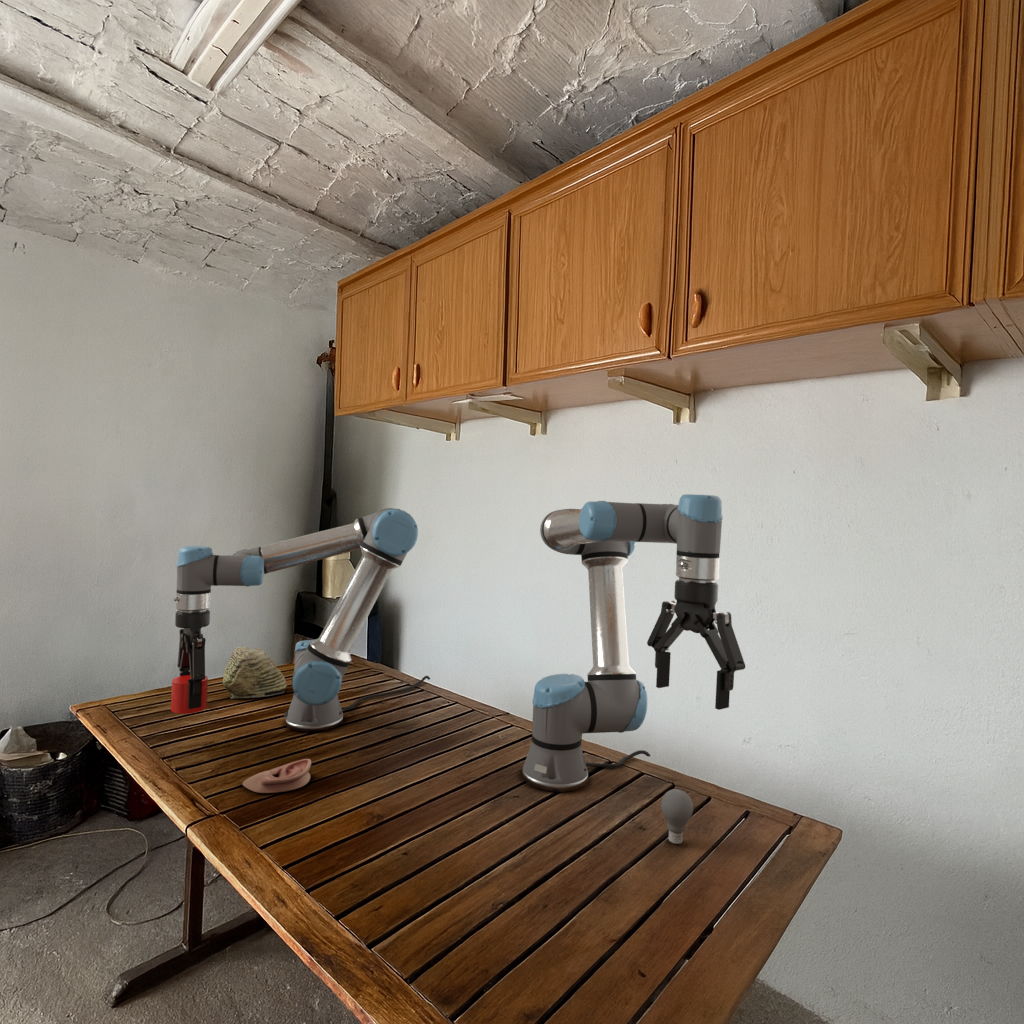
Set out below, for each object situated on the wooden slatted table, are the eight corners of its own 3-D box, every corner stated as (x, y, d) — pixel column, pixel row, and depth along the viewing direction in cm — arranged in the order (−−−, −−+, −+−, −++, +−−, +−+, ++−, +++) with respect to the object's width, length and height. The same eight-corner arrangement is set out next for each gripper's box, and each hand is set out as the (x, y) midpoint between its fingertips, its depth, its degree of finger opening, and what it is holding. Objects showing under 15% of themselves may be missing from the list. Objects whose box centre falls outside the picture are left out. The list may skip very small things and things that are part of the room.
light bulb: (655, 834, 124) (657, 783, 124) (684, 834, 125) (687, 783, 124) (665, 851, 118) (667, 798, 118) (696, 851, 119) (698, 798, 118)
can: (187, 701, 159) (188, 673, 159) (213, 705, 158) (214, 676, 157) (163, 711, 152) (164, 681, 152) (191, 715, 150) (192, 685, 150)
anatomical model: (234, 771, 135) (265, 750, 146) (233, 789, 135) (265, 767, 146) (290, 779, 132) (318, 757, 143) (290, 798, 132) (317, 775, 143)
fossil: (218, 695, 195) (220, 647, 195) (278, 685, 208) (279, 640, 207) (228, 703, 189) (230, 653, 188) (289, 692, 201) (290, 645, 201)
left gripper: (165, 604, 160) (162, 694, 160) (187, 618, 144) (183, 717, 144) (198, 602, 165) (195, 689, 165) (222, 615, 149) (218, 711, 149)
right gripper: (632, 572, 123) (627, 681, 123) (742, 590, 102) (736, 721, 102) (659, 571, 127) (654, 676, 127) (771, 588, 106) (764, 714, 106)
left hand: (189, 702), depth 155 cm, fingers closed on can, 8 cm apart
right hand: (690, 697), depth 115 cm, fingers open, 13 cm apart
